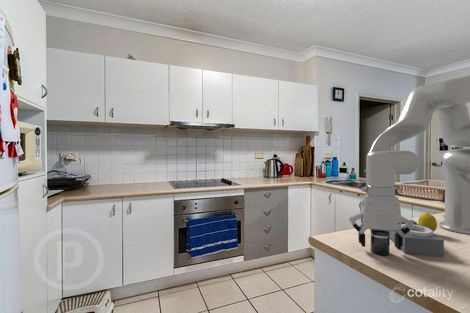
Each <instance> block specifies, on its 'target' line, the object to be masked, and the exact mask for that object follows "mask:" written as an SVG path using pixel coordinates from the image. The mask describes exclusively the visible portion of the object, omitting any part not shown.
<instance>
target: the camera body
mask: <svg viewBox="0 0 470 313" xmlns="http://www.w3.org/2000/svg"><path fill="white" fill-rule="evenodd" d="M409 220H410V221H412V222H413V223H414V224H413V226H412V227H411V228H410V231H409V232H408V233H406V234H405V236H404V237H403V246H401V250H400V251H402V252H403V254H405V255H407V254H408V255H418V256H428V255H429V256H430V257H439V258H442V257H443V258H444V256H445V254H444V253H445V251H444V250H445V240H444V239H443V238H442V237H440V236H438V235H437V234H435V233H434V232H433V231H432V230H431V229H429V228H427V227H423V226H421V225H419V224H418V221H415V220H414V219H413V220H412V219H409ZM405 224H406V223H405V222H403V221H402V227H404V226H405ZM395 233H396V231H390V241H391V242H393V243H394V244H395ZM429 256H428V257H429Z"/></svg>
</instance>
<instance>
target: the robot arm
mask: <svg viewBox="0 0 470 313" xmlns="http://www.w3.org/2000/svg"><path fill="white" fill-rule="evenodd" d="M469 103H470V74H469V75H465V76H461V77H456V78H455V77H454V78H451V79H446V80H442V81H437V82H432V83H427V84H424V85H420V86H417V87H416V88H414V89H412V90H411V92H410V93H409V95H408V97H407V99H406V100H405V103H404V105H403V108H402V110H401V113H400V115H399V116H398V119H397V121H396V122H395V123H394V124H392V125H390V126H389V127H388V128H387V129H385V131H383V132H382V133H381V134H379V136H378V137H377V138H376V139H375V140H374V141H373V144H372V146H371V148H370V151H369V152H368V153H367V154H366V161H365V162H366V163H365V165H366V166H365V167H366V168H365V170H366V174H365V176H366V177H365V178H366V179H365V180H366V182H365V183H366V184H365V186H364V187H361V188H360V191H361V193H363V192H364V193H365V194H364V195H363V197H362V202H361V204H362V205H361V211H360V212H359V213H358V214H355V215H352V216H350V217H349V218H348V219H349V220H348V221H350V223H351V225H352V227H353V228H354V229H355V230H356V231H357V232H358V243H359V244H360V245H361V246H362V247H363V248H364V247H366V234H365V232H366V231H367V230H370V231H371V230H385V231H396V233H395V243H394V247H395V248H396V249H397V250H399V251H402V250H401V246H403V237H404V236H405V234H406V233H408V232H409V231H410V228H411V227H412V226H413V224H414V223H413V222H412V221H410V220H411V219H408V218H406V217H404V216H402V213H401V205H400V199H399V197H398V196H396V195H395V194H396V175H403V176H405V175H412V174H414V173H416V171H417V170H418V169H419V167H420V163H421V161H420V158H419V156H418V155H417V154H416V153H415V152H414V151H410V150H399V149H398V150H395V149H394V150H393V149H392V148H393V147H394V146H396V145H397V144H400V143H402V142H404V141H407V140H409V139H412V138H414V137H416V136H419V135H421V134H423V133H424V132H426V131H427V129H428V127H429V125H430V122H431V120H432V118H433V115H434V112H435V113H436V115H437V118H438V121H439V127H440V128H439V129H440V131H441V138H442V141H443V143H444V144H445V145H446V146H447V147H453V148H451V149H449V150H447V151H445V152H444V153H443V154H442V158H441V163H442V168H443V173H444V214H443V215H442V217H443V218H444V221H440V222H439V227H440V228H442V229H445V230H447V231H449V232H455V233H460V234H467V235H470V112H469V108H468V106H467V105H466V104H469ZM391 149H392V150H391ZM358 220H360V222H361V224H359V225H358V224H357V222H356V221H358ZM402 221H403V222H405V223H406V224H405V226H404V227H402Z"/></svg>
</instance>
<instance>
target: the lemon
mask: <svg viewBox="0 0 470 313" xmlns="http://www.w3.org/2000/svg"><path fill="white" fill-rule="evenodd" d="M417 224H419V225H421V226H423V227H427V228H429V229H431V230H432V231H433V233H434V232H435V231H436V230H437V228H438V221H437V218H436V217H435V216H434V215H432V214H431V213H429V212H425V213H422V214H421V215H419V217H418V219H417Z"/></svg>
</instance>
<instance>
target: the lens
mask: <svg viewBox="0 0 470 313" xmlns="http://www.w3.org/2000/svg"><path fill="white" fill-rule="evenodd" d="M390 241H391V239H390V231H385V230H371V229H370V252H371V253H372V254H373V255H376V256H380V257H389V256H390V246H391V244H390Z"/></svg>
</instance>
